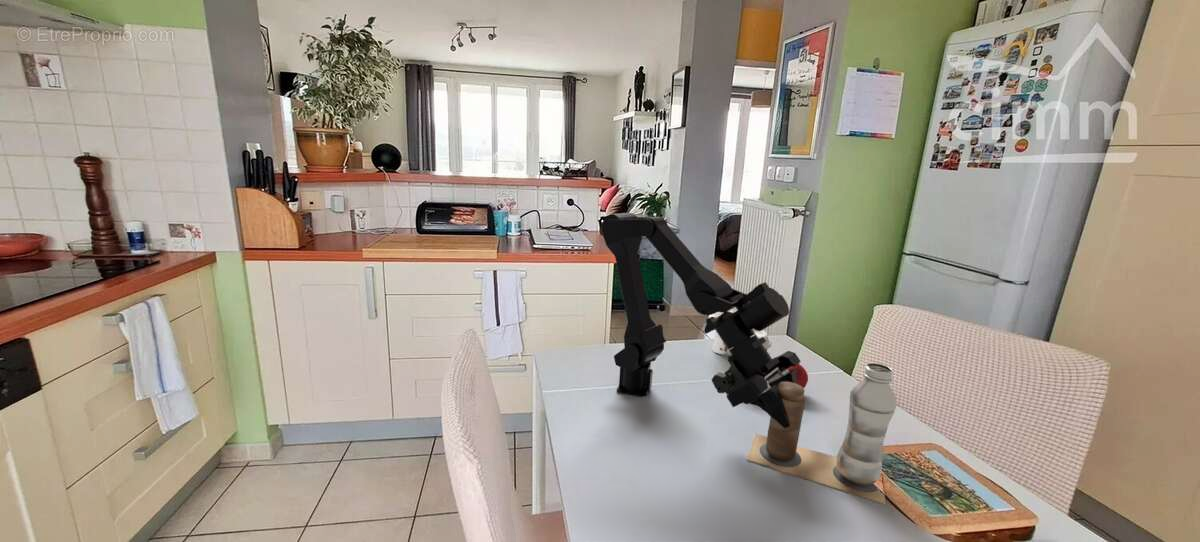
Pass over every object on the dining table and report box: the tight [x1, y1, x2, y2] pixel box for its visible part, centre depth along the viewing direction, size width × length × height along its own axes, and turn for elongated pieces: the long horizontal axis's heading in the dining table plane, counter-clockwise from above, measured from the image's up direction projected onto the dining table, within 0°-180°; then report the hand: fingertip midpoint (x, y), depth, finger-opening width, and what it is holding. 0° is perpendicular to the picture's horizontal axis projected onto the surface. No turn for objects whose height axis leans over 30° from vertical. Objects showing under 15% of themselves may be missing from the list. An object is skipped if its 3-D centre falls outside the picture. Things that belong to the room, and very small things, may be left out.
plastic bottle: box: [835, 362, 898, 485], centre depth 76 cm, size 6×7×20 cm
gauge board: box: [746, 433, 886, 505], centre depth 81 cm, size 21×9×1 cm, turn 63°
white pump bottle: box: [711, 307, 737, 356], centre depth 126 cm, size 7×7×15 cm
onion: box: [787, 363, 809, 389], centre depth 106 cm, size 6×6×8 cm
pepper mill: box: [766, 382, 806, 460], centre depth 82 cm, size 5×5×12 cm
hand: (793, 421), depth 81 cm, fingers closed on pepper mill, 5 cm apart
